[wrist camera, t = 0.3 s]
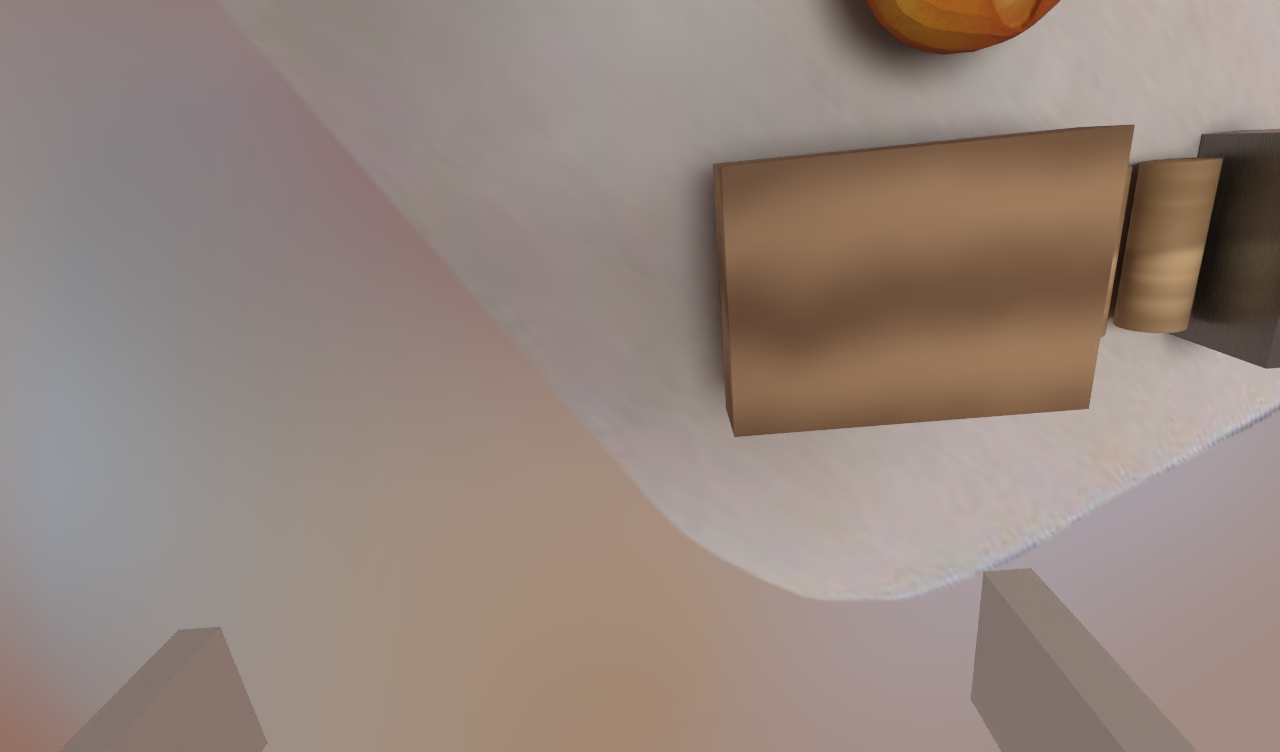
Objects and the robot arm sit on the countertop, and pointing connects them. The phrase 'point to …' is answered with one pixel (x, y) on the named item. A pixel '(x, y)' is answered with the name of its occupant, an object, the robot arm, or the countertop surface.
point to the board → (917, 279)
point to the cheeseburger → (957, 21)
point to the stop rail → (1241, 251)
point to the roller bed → (1163, 244)
